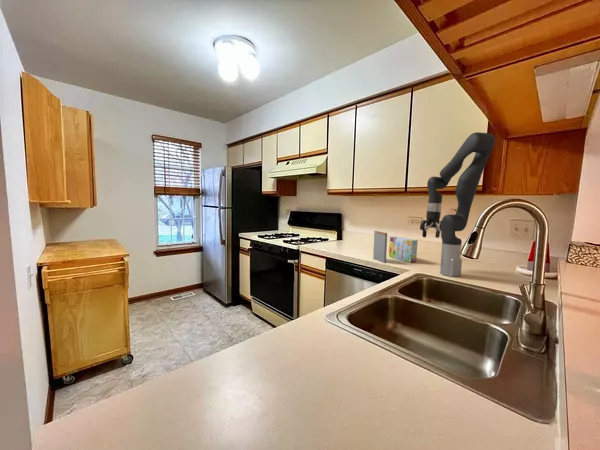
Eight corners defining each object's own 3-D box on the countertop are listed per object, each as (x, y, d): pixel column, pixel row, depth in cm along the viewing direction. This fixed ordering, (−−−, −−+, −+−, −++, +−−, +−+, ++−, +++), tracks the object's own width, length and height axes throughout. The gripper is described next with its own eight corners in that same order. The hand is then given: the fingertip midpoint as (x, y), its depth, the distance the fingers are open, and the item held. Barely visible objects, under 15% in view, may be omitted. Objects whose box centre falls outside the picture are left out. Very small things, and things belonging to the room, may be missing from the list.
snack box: (416, 262, 172) (418, 240, 171) (410, 263, 170) (411, 240, 169) (394, 256, 192) (395, 236, 190) (388, 256, 190) (389, 236, 188)
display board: (386, 262, 170) (387, 233, 168) (383, 262, 170) (385, 233, 168) (375, 258, 183) (376, 230, 181) (373, 258, 182) (374, 230, 180)
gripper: (427, 210, 150) (424, 238, 152) (449, 211, 153) (445, 238, 155) (419, 209, 158) (416, 236, 160) (440, 210, 160) (436, 236, 162)
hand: (430, 237), depth 157 cm, fingers open, 8 cm apart
